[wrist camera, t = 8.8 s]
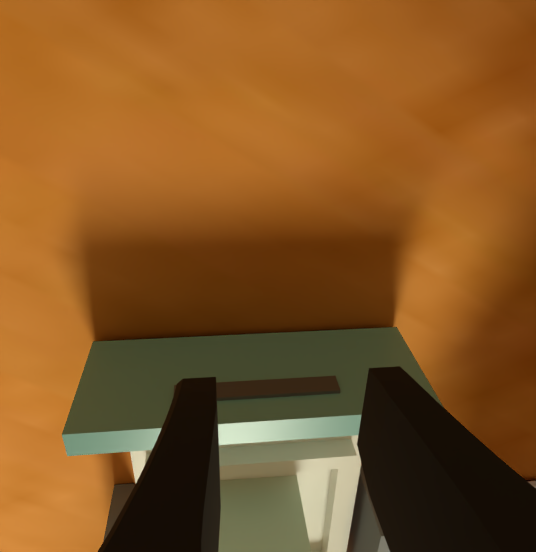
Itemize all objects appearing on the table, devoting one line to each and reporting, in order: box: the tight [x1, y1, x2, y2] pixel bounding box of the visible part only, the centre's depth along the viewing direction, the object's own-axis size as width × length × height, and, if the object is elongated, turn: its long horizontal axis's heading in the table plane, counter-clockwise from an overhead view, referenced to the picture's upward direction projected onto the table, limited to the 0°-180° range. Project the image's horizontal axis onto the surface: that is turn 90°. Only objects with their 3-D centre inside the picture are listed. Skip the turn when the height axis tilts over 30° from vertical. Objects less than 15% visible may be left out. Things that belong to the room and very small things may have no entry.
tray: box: [62, 327, 444, 552], centre depth 22 cm, size 13×16×5 cm
